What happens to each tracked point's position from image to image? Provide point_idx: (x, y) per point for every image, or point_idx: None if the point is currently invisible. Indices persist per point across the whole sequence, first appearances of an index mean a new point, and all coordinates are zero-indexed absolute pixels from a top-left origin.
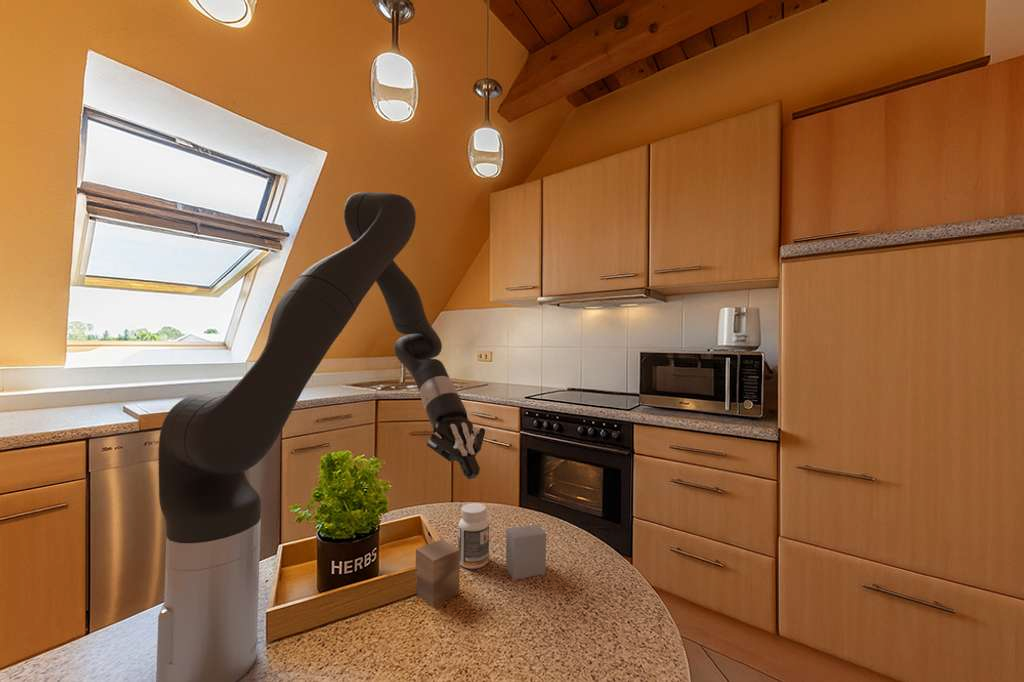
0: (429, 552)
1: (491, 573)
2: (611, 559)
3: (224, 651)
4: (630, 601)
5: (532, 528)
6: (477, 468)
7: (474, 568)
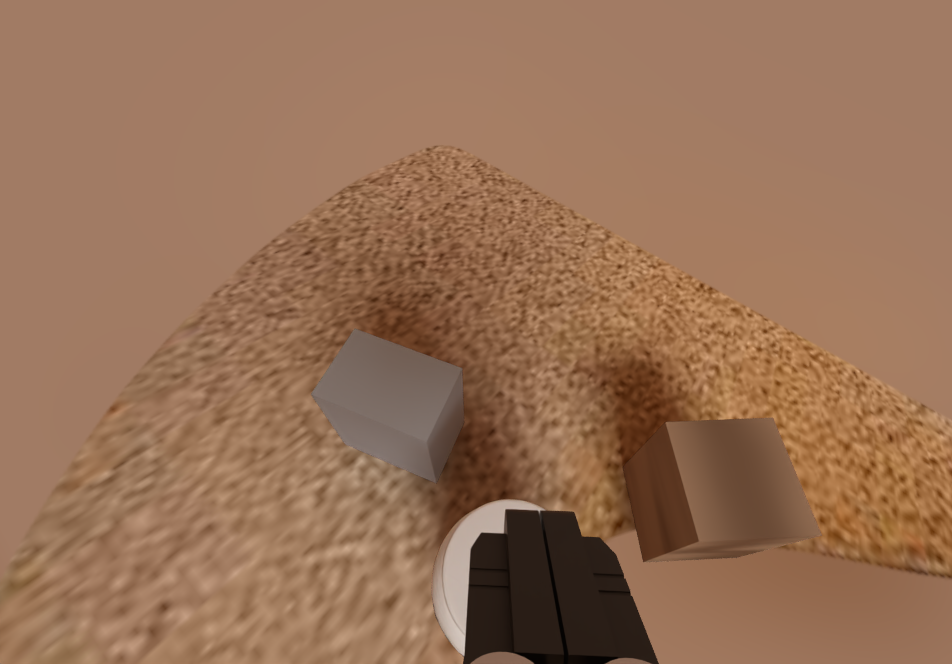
0: (774, 474)
1: (492, 487)
2: (197, 325)
3: None
4: (342, 229)
5: (353, 381)
6: (511, 526)
7: None
